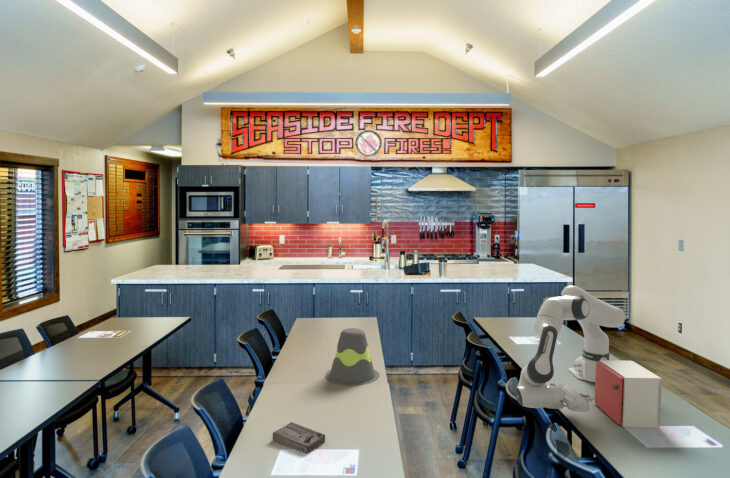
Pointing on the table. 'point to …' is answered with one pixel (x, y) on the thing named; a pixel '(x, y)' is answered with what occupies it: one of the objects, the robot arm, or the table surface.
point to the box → (299, 437)
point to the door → (608, 392)
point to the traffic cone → (352, 360)
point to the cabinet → (638, 394)
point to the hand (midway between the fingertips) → (590, 398)
